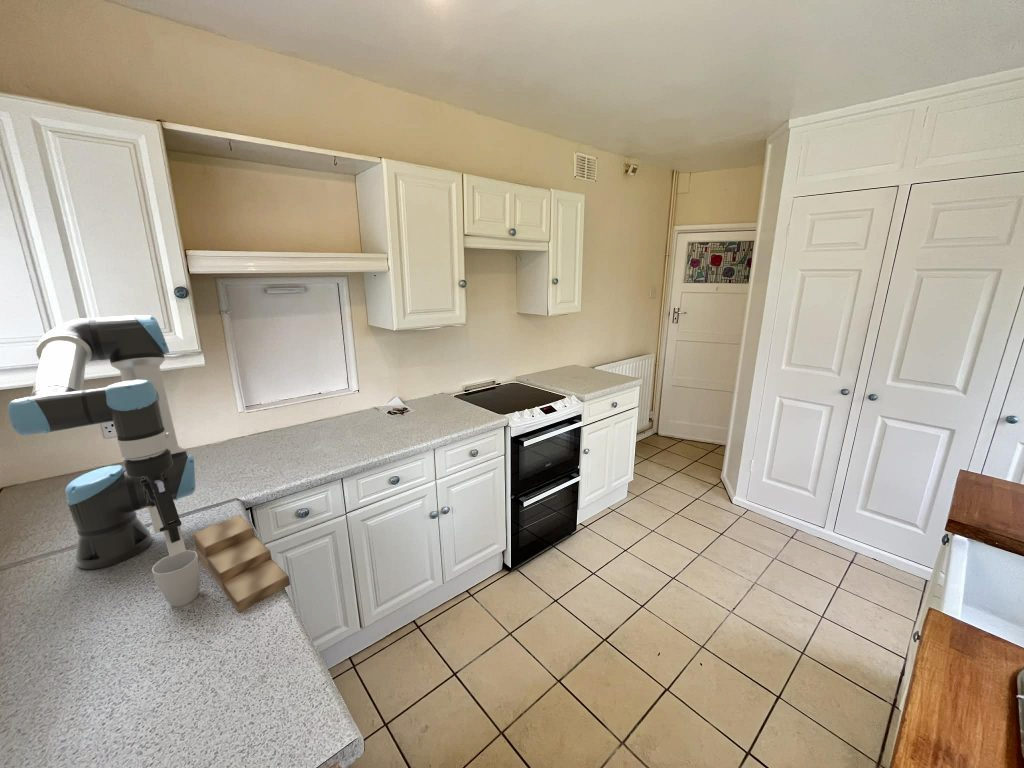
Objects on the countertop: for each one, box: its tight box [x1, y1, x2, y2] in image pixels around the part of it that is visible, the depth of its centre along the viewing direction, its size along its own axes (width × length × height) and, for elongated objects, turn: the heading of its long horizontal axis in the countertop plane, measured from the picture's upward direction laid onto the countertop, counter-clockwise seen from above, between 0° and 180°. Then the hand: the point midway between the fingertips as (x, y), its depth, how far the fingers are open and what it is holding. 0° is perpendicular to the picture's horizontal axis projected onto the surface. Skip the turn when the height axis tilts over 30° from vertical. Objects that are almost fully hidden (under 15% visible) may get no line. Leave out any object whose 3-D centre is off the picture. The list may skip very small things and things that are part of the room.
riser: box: [192, 514, 291, 613], centre depth 105 cm, size 11×30×8 cm, turn 50°
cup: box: [151, 549, 201, 608], centre depth 96 cm, size 8×8×10 cm
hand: (169, 541), depth 93 cm, fingers open, 13 cm apart
